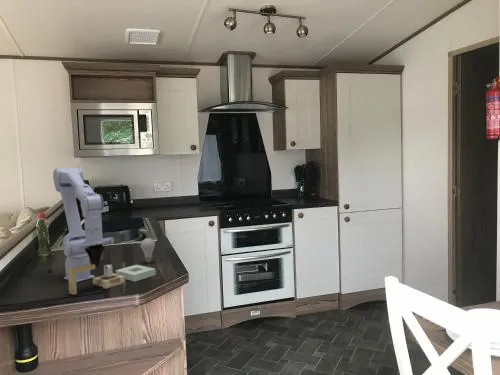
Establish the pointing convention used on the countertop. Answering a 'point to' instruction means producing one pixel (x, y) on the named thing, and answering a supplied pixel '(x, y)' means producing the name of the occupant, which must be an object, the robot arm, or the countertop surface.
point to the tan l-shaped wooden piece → (72, 276)
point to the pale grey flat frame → (136, 272)
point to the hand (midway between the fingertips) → (95, 266)
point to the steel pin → (108, 272)
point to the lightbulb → (148, 248)
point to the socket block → (109, 281)
